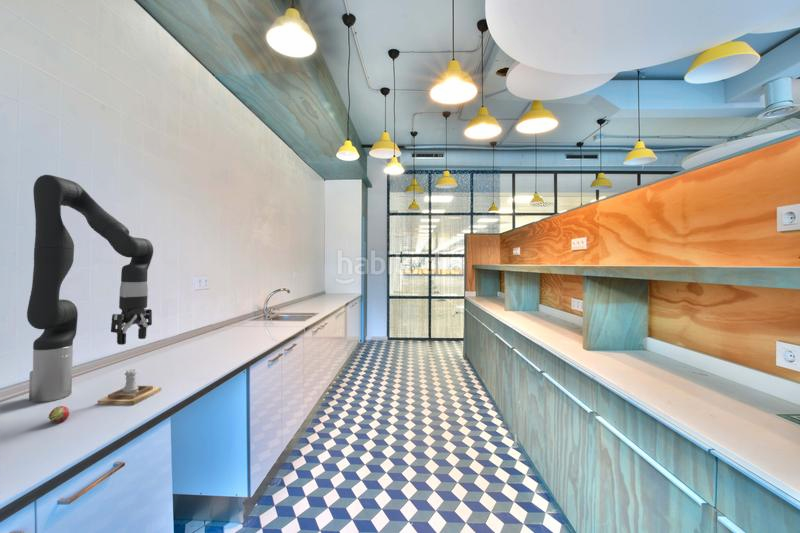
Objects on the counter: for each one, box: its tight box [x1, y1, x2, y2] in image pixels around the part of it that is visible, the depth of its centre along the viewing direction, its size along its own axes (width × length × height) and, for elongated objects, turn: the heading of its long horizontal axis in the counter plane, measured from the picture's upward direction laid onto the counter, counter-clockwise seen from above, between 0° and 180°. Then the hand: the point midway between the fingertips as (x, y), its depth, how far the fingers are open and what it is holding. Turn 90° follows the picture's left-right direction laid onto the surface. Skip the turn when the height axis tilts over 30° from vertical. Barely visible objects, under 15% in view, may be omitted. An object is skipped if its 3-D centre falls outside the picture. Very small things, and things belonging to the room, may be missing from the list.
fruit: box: [47, 405, 70, 423], centre depth 93 cm, size 4×6×5 cm
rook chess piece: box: [122, 369, 139, 394], centre depth 111 cm, size 4×4×8 cm
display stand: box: [97, 385, 162, 406], centre depth 111 cm, size 12×12×2 cm
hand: (132, 341), depth 111 cm, fingers open, 8 cm apart
